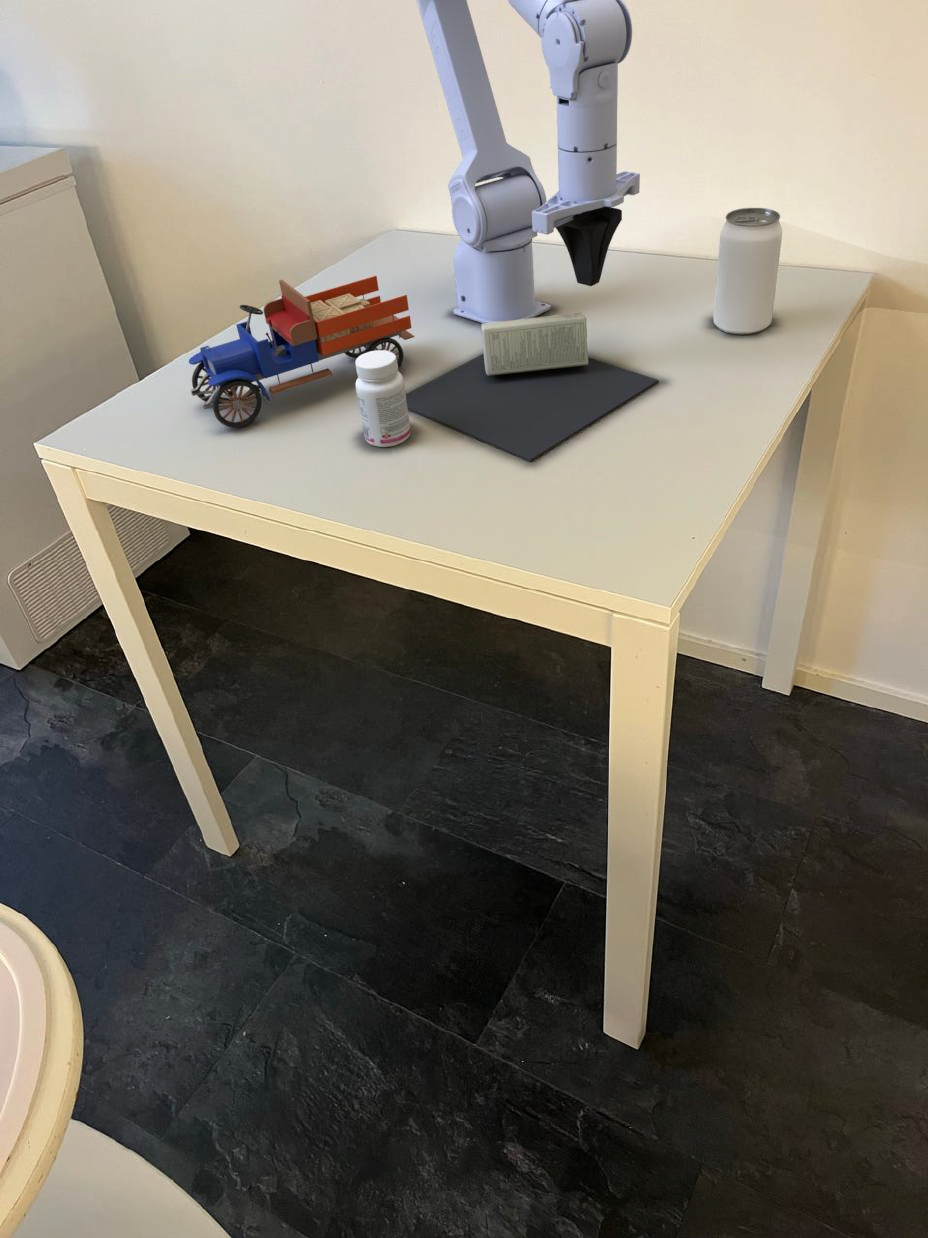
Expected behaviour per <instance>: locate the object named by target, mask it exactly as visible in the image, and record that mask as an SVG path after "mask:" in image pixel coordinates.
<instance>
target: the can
mask: <svg viewBox="0 0 928 1238" xmlns="http://www.w3.org/2000/svg"><path fill="white" fill-rule="evenodd" d="M780 219H781V214H780V213H779V211H776V210H774V209H770V208H766V207H742V208H738V209H733V210H732V211H730V212H728V213H727V214H726V215H725V222H724V224H723V225H722V226H721V227H722V228H721V229H720V233H719V234H720V235H719V244H718V256H717V266H716V267H717V269H716V278H715V279H716V280H715V290H714V291H715V293H714V304H713V305H714V306H713V318H712V319H713V320H712V321H713V324H714V325H715V326H716V328H717V329H718V330H719V331H722V332H724V333H727V334H731V335H740V336H741V335H752V334H753V335H754V334H757V333H761V332H762V331H764V330H766V329H767V328H768V327H769V326H770V325H771V324H772V320H773V313H774V307H775V299H776V289H777V280H778V273H779V266H780V257H781V250H782V249H781V248H782V239H783V228H782V224H781V222H780Z"/></svg>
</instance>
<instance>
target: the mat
mask: <svg viewBox="0 0 928 1238" xmlns="http://www.w3.org/2000/svg"><path fill="white" fill-rule="evenodd" d="M659 381H660V380H659V379H657V378H654V377H651V376H648V375H646V374H645V375H644V374H642V373H640V372H639V373H638V372H635V371H632V370H629V369H626V368H624V367H620V366H617V365H614V364H612V363H608V362H605V361H601V360H598V359H596V358H592V357H589V356H588V365H584V366H574V367H565V368H555V369H545V370H537V371H528V372H518V373H509V374H500V375H492V376H488V375H487V374H486V370H485V362H484V353H482V354H480V355H477V356H476V357H474V358H471V359H470V360H469V361H466V362H465V363H463V364H461V365H459V366H457V367H455V368H453V369H451V370H449V371H448V372H445V373H444V374H442V375H439V376H438V377H436V378H434V379H431V380H430V381H428V382H426V383H424V384H422V385H420V386H418V387H417V388H415V389H413V390H411V391H409V392H407V393H406V400H407V407H408V411H410V412H411V413H414V414H416V415H419V416H421V417H424V418H426V419H428V420H431V421H432V422H435V423H438V424H440V425H442V426H444V427H447V428H449V429H452V430H454V431H456V432H459V433H461V434H463V435H465V436H468V437H470V438H473V439H475V440H478V441H480V442H482V443H485V444H487V445H490V446H492V447H493V448H496V449H498V450H501V451H503V452H505V453H508V454H510V455H513V456H515V457H518V458H520V459H522V460H524V461H527V462H528V463H531V462H532V463H533V461H535V460H537V459H538V458H540V457H542V456H543V455H545V454H546V453H548V452H549V451H551V450H552V449H554V448H556V447H558V446H559V445H561V444H562V443H564V442H565V441H567V440H568V439H571V438H572V437H573V436H575V435H577V434H578V433H580V432H582V431H583V430H585V429H586V428H588V427H589V426H591V425H593V424H594V423H596V422H597V421H599V420H601V419H602V418H604V417H605V416H607V415H609V414H610V413H612V412H614V411H615V410H617V409H619V408H620V407H622V406H623V405H625V404H626V403H628V402H630V401H632V400H633V399H634V398H636V397H637V396H639V395H641V394H642V393H644V392H646V391H648V390H649V389H650V388H652V387H654V386H656V385H657V384H658V383H660V382H659Z"/></svg>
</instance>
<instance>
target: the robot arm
mask: <svg viewBox="0 0 928 1238" xmlns="http://www.w3.org/2000/svg"><path fill="white" fill-rule="evenodd" d="M415 2H416V4H417V8H418V11H419V15H420V18H421V22H422V25H423V28H424V32H425V36H426V38H427V41H428V42H427V43H428V45H429V49H430V52H431V56H432V59H433V62H434V66H435V69H436V72H437V76H438V79H439V83H440V85H441V89H442V92H443V97H444V100H445V103H446V107H447V109H448V113H449V116H450V119H451V123H452V126H453V131H454V133H455V136H456V139H457V140H456V141H457V144H458V146H459V151H460V153H461V157H462V159H461V161H460V162H459V165H458V166H457V168H456V169H455V171H454V172H453V174H452V176H451V178H450V179H449V182H448V183H447V184H448V185H447V188H448V193H449V197H450V201H451V216H452V217H451V218H452V222H453V224H454V228H455V231H456V233H457V234H458V236H459V238H460V241H459V242H458V244H457V246H456V249H455V251H454V256H453V270H454V281H455V291H456V300H457V301H456V302H457V307H456V308H454V309H453V310H452V312H453V314H454V315H456V316H459V317H463V318H465V319H468V320H471V321H475V322H478V323H480V324H483V323H492V322H500V321H509V320H518V319H527V318H536V317H539V316H540V315H541V314H544V313H545V312H547V311H549V310H551V305H550V304H549V303H545V302H541V301H538V300H536V297H535V296H536V295H535V275H534V274H535V272H534V249H533V239H535V238H536V237H538V234H543V235H547V236H548V235H550V234H553V232H554V230H555V229H556V231H557V232H558V234H559V235H560V237H561V239H562V241H563V243H564V245H565V247H566V249H567V252H568V254H569V258H570V261H571V265H572V268H573V272H574V275H575V280H576V283H577V284H580V285H584V286H587V287H593V286H596V285H598V284H599V283H600V281H601V278H602V274H603V270H604V266H605V260H606V258H607V254H608V250H609V247H610V244H611V242H612V240H613V237H614V234H615V233H616V230H618V227H619V226H620V224H621V222H622V220H623V210H621V209H620V208H617V206H619V205H621V204H624V202H625V197H626V196H628V195H629V196H635V195H638V194H639V193H640V188H641V187H640V186H641V185H640V184H641V173H640V172H633V171H628V170H624V171H621V172H619V173H617V171H618V167H617V166H618V96H619V95H618V94H619V93H618V92H619V91H618V90H619V88H618V87H619V83H618V82H619V78H618V77H619V64H620V63H622V62H623V61H624V60H625V59H626V57H627V56H628V55H629V52H630V49H631V45H632V39H633V23H632V17H631V14H630V11H629V9H628V6H627V5H626V3H625V1H623V0H507V2H508V4H509V5H510V7H512V8H513V9H514V10H515V12H516V13H517V14H518V15H519V16H520V17H521V18H522V19H523V20H524V21H525V22H526V24H527V25H528V26H529V27H530V28H531V29H532V30H533V31H534V33H536V35H538V37H539V38H540V44H541V51H542V56H543V59H544V61H545V64H546V66H547V68H548V72H549V73H548V74H549V83H550V85H549V86H550V89H551V93H552V95H553V96H556V128H557V129H556V130H557V136H556V137H557V169H558V170H557V172H558V173H557V175H558V191H557V192H556V193H555V194H553V195H552V196H551V197H550V198H549V199H548V200H547V195H546V192H545V191H546V190H545V188H544V186H543V184H542V181H540V179H539V178H538V175H537V174H536V172H535V170H534V167H533V164H532V161H531V157H530V156H529V155H528V154H526V153H524V151H521V150H519V149H517V148H515V147H514V146H512V145H510V144H509V143H508V142H507V139H506V135H505V131H504V128H503V125H502V121H501V117H500V113H499V109H498V106H497V103H496V100H495V95H494V92H493V89H492V85H491V82H490V78H489V74H488V71H487V68H486V64H485V61H484V57H483V54H482V53H483V52H482V50H481V46H480V43H479V39H478V36H477V33H476V28H475V25H474V21H473V19H472V15H471V11H470V7H469V3H468V0H415ZM497 178H498V179H497ZM493 179H496V180H493ZM490 180H492V181H490ZM486 181H488V182H486ZM483 182H485V183H483ZM480 183H482V184H480ZM476 184H478V185H476Z"/></svg>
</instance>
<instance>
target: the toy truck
mask: <svg viewBox="0 0 928 1238" xmlns="http://www.w3.org/2000/svg"><path fill="white" fill-rule="evenodd" d="M278 283H279V287H280V292H281V295H280V296H281V297H280V298H278V299H274V300H270V301H269V302H267V303H266V304H265V305H264V306H263V309H260V308H258V307H255V306H252V305H248V304H240V305H239V309H240V310H241V311H244V312H246V313H248V317H247V320H246V321H243V322H239V323H237V324H235V325H236V329H237V332H238V337H239V338H238V339H235V340H231V341H229V342H225V343H221V344H218V345H215V346H212V347H210V346H209V345H205V346H201V347H200V349H199V350H200V351H199V352H198V353H196V354H194V355H192V356H191V357H190V358H189V359H188V363H189V364H190V365H192V366H194V365H196V367H195V369H194V370H193V373H192V377H191V385H192V388H191V389H190V394H191V396H193V397H194V396H197V397H198V398H199V399H200V400H201V401H203V402H202V403H201V406H202V408H203V410H210V409H212V411H213V415H214V417H215V418H216V419H217V421H218V422H219V423H220V424H222V425H223V426H225V427H227V428H232V429H233V428H234V429H240V428H244V427H247V426H249V425H250V424H253V422H254V421H255V420H256V419H258V416H259V415H260V413H261V410H262V406H263V399H262V397H263V398H264V399H265V400H266V401H268V403H271V401H272V400H271V396H270V395H269V393H268V391H267V389H266V387H265V386H264V385H263V383H262V382H261V381H260V380H265V379H268V378H272V377H275V376H276V377H277V381H278V383H277V384H275V385H272V386H268V390H269V392H270V393H271V394H272V395H274V394H278V393H282V392H284V391H287V390H291V389H293V388H296V387H300V386H302V385H305V384H309V383H311V382H314V381H318V380H321V379H324V378H327V377H330V376H333V375H334V374H333V371H332V370H331V369H330V368H328V367H326V368H324V369H321V370H318V371H314V368H313V364H316V363H318V362H319V363H320V361H323V360H325V359H330V358H331V357H332V358H333V357H335V356H339V355H341V354H345V355H346V356H348V357H349V358H353V359H357V358H358V357H359V356H360V355H362V354H364V353H367V352H370V351H377V350H385V351H390V352H392V353H394V351H395V350H397V352H396V353H394V354H395V355H396V357H397V356H398V359H397V364H398V371H400V370H401V367H402V365H403V364H404V363H403V361H404V350H403V346H401V344H400V342H399V341H398V340H396V339H394V338H395V337H398V338H400V339H403V340H404V341H407V340H409V339H413V338H415V335H413V334H412V333H410V332H409V331H408V330H410V329H412V320H411V315H407V316H403V317H400V318H399V317H397V316H396V315H398V314H401V313H404V312H407V311H409V309H410V308H409V302H408V295H407V294H404V295H401V296H397V297H393V298H391V299H389V300H388V299H387V300H384V301H382V299H381V295H377V296H374V297H370V298H368V299H366V298H365V296H366V295H369V294H371V293H375V292H378V291H379V282H378V276H377V275H373V276H369V277H367V278H364V279H359V280H356V281H353V282H350V283H346V284H343V285H340V286H336V287H333V288H330V289H326V290H323V291H319V292H316V293H312V294H309V295H306V296H305V295H303V294H302V293H300V292H299V291H297V289H295V288H294V287H293V286H291V285H290V284H288V283H287V282H286V281H284V279H279V280H278ZM358 297H362V298H359V299H358ZM252 314H253V315H257V316H261V315H264V320H265V324H266V325H268V328H269V332H270V333H269V332H266V333H265V336H267V338H265V339H262V340H257V339H256V338H255V337H254V336H253V334H252V329H251V326H250V324H251V319H252ZM269 334H270V336H269ZM391 345H393V347H392V348H391ZM379 346H381V348H378V347H379ZM363 347H364V350H363V351H362V348H363ZM390 348H391V349H390ZM357 349H358V352H356V350H357ZM351 351H352V352H351ZM309 365H310V368H311V373H309V374H306V375H302V376H299V377H296V378H293V379H290V380H288V381H287V380H286V381H284V382H281V381H280V376H279V375H281V374H283V373H288V372H290V371H293V370H297V369H299V368H300V369H301V368H302V367H305V366H309ZM202 371H204V373H206V374H205V375H203V376H202V375H200V374H201V372H202ZM199 379H200V381H199ZM254 383H256V384H254ZM204 386H207V387H206V388H205V389H204V390H201V388H202V387H204ZM244 387H245V388H248V390H247V391H246V392H245V393H244V394H243V391H244ZM211 388H212V389H211ZM210 389H211V390H210ZM238 390H239V391H238ZM237 391H238V395H237ZM261 394H262V395H261ZM253 395H254V396H253ZM252 396H253V397H252ZM252 401H253V402H254V401H255V405H253V404H252V405H251V404H247V403H249V402H252ZM244 407H245V408H249V409H253V411H252V412H251V413H250V412H249V411H248V410H247V409H245V408H244ZM228 409H229V410H228ZM225 410H228V411H227V412H226V413H225V414H224V415H223V416H222V414H221V412H222V411H225ZM232 412H233V413H232ZM242 412H244V413H245V414H246V415H247V416H248V417H247V418H245V419H244V418H243V414H242ZM237 413H238V416H239V420H240V421H235V420H236V417H237ZM230 414H232V417H231V420H228V419H227V418H228V416H230Z"/></svg>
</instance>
